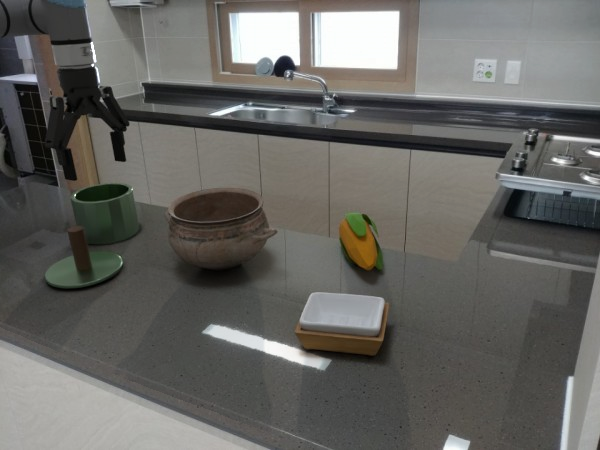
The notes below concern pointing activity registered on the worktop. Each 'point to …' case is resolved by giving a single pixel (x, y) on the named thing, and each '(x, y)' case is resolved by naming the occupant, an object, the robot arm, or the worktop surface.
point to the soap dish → (343, 323)
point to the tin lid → (82, 264)
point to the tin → (106, 212)
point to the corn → (360, 241)
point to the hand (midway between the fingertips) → (97, 170)
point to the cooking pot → (218, 227)
